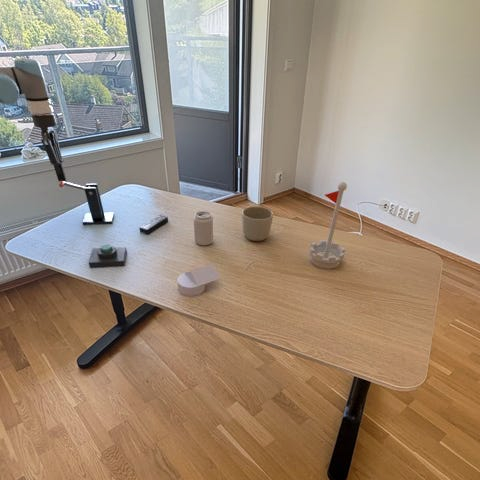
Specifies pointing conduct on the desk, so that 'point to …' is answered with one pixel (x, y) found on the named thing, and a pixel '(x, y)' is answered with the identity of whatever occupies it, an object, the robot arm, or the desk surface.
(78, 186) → the lever
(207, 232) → the can
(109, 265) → the button box
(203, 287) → the wedge on round base
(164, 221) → the multiport hub
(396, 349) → the desk surface
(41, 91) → the robot arm
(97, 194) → the bracket
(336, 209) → the flag stand
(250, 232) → the planter
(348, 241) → the desk surface
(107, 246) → the button
